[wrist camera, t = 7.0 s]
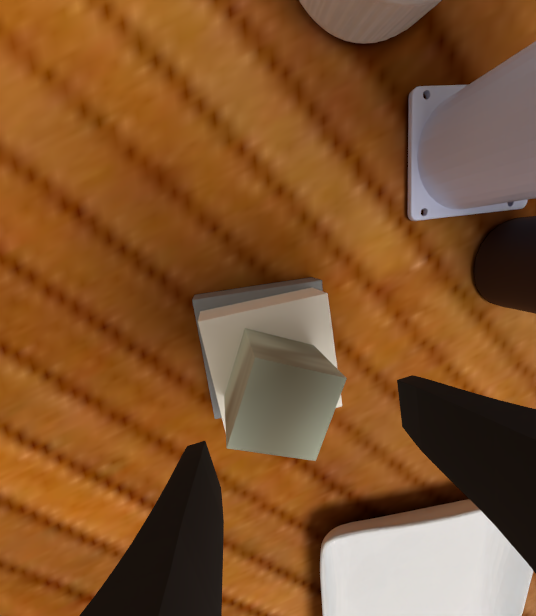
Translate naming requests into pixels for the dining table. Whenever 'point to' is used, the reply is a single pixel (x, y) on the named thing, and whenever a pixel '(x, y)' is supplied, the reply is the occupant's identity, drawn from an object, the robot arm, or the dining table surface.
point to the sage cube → (280, 397)
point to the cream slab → (264, 329)
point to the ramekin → (367, 17)
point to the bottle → (509, 265)
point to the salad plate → (423, 566)
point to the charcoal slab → (238, 296)
